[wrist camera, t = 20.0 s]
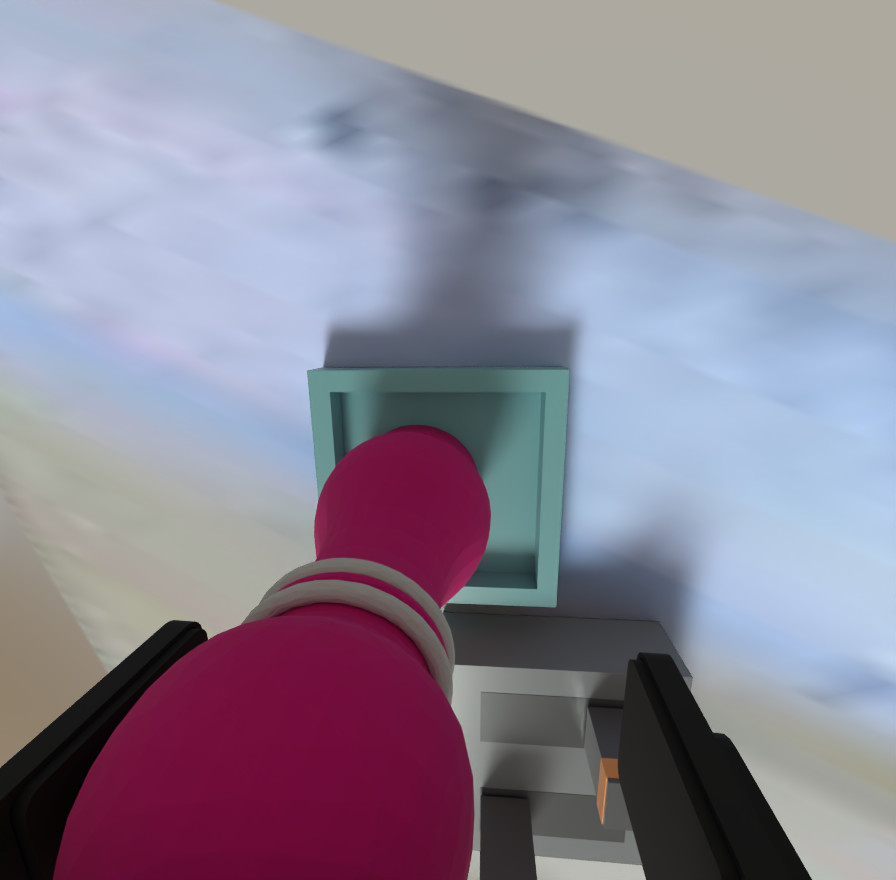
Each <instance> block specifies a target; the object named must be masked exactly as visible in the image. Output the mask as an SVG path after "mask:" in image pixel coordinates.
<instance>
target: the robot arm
mask: <svg viewBox="0 0 896 880" xmlns="http://www.w3.org/2000/svg"><path fill="white" fill-rule="evenodd" d="M207 640H208V638H207V633H206V631H205V630H203V629H202V627H201V625H200V624H199V623H198V622H192V621H178V620H173V621H169V622H168V623H166V624H165V625H164V626H162V627H161V628H160V629H159V630H158V631H157V632H156V633H154V634H153V635H152V636H151V637H150V638H149V639H148V640H146V641H145V642H144V643H143V644H142V645H141V646H140V647H138V648H137V649H136V650H135V651H134V652H133V653H132V654H130V655H129V656H128V657H127V658H126V659H125V660H123V661H122V662H121V663H120V664H119V665H118V666H117V667H115V668H114V669H113V670H112V671H111V672H110V673H109V674H107V675H106V676H105V677H104V678H103V679H102V680H101V681H100V682H98V683H97V684H96V685H95V686H94V687H93V688H92V689H90V690H89V691H88V692H87V693H86V694H85V695H83V696H82V697H81V698H80V699H79V700H78V701H76V702H75V703H74V704H73V705H72V706H71V707H70V708H68V709H67V710H66V711H65V712H64V713H63V714H62V715H60V716H59V717H58V718H57V719H56V720H55V721H53V722H52V723H51V724H50V725H49V726H48V727H47V728H45V729H44V730H43V731H42V732H41V733H40V734H39V735H38V736H36V737H35V738H34V739H33V740H32V741H31V742H29V743H28V744H27V745H26V746H25V747H24V748H23V749H21V750H20V751H19V752H18V753H17V754H16V755H14V756H13V757H12V758H11V759H10V760H9V761H8V762H7V763H5V764H4V765H3V766H2V767H1V768H0V880H53V876H54V871H55V866H56V861H57V857H58V853H59V849H60V845H61V841H62V837H63V833H64V829H65V825H66V821H67V818H68V816H69V813H70V811H71V809H72V807H73V805H74V802H75V800H76V798H77V796H78V794H79V792H80V789H81V787H82V785H83V783H84V781H85V778H86V776H87V774H88V772H89V770H90V768H91V767H92V765H93V763H94V762H95V760H96V759H97V757H98V755H99V754H100V752H101V751H102V749H103V747H104V746H105V744H106V743H107V741H108V739H109V738H110V736H111V735H112V733H113V731H114V730H115V729H116V727H117V726H118V725H119V724H120V722H121V721H122V720H123V719H124V717H125V716H126V715H127V714H128V712H129V711H130V710H131V709H132V707H133V706H134V705H135V704H136V702H137V701H138V700H139V699H140V697H141V696H142V695H143V694H144V692H145V691H146V690H147V689H148V688H149V687H150V686H151V685H152V684H153V683H154V682H155V681H156V680H157V679H158V678H160V677H161V676H162V675H163V674H164V673H165V672H166V671H167V670H168V669H169V668H170V667H171V666H172V665H173V664H175V663H176V662H177V661H178V660H179V659H180V658H182V657H183V656H185V655H186V654H187V653H189V652H190V651H191V650H193V649H194V648H196V647H197V646H199V645H200V644H202V643H204V642H205V641H207ZM618 775H619V781H620V785H621V789H622V793H623V796H624V800H625V804H626V807H627V811H628V815H629V818H630V822H631V826H632V829H633V833H634V837H635V840H636V844H637V848H638V851H639V855H640V859H641V862H642V866H643V870H644V873H645V877H646V880H812V879H811V877H810V875H809V874H808V872H807V870H806V868H805V867H804V865H803V863H802V861H801V860H800V858H799V856H798V854H797V853H796V851H795V849H794V848H793V846H792V844H791V842H790V841H789V839H788V837H787V835H786V834H785V832H784V830H783V828H782V827H781V825H780V823H779V822H778V820H777V818H776V816H775V815H774V813H773V811H772V809H771V808H770V806H769V804H768V802H767V801H766V799H765V797H764V796H763V794H762V792H761V790H760V789H759V787H758V785H757V783H756V782H755V780H754V778H753V777H752V775H751V773H750V771H749V770H748V768H747V766H746V764H745V763H744V761H743V759H742V757H741V756H740V754H739V752H738V751H737V749H736V747H735V746H734V744H733V743H732V741H731V740H730V739H729V738H728V737H727V736H726V735H725V734H721V733H713V732H712V730H711V728H710V727H709V725H708V723H707V721H706V719H705V717H704V716H703V714H702V712H701V710H700V708H699V706H698V704H697V703H696V701H695V699H694V697H693V695H692V693H691V692H690V690H689V688H688V686H687V684H686V682H685V680H684V679H683V677H682V675H681V673H680V671H679V669H678V667H677V666H676V664H675V662H674V660H673V659H672V657H671V656H670V655H669V654H660V653H646V652H640V653H639V654H638V655H637V660H635V659H630V660H629V662H628V668H627V677H626V687H625V696H624V706H623V715H622V725H621V734H620V744H619V753H618Z"/></svg>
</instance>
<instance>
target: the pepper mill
mask: <svg viewBox="0 0 896 880" xmlns="http://www.w3.org/2000/svg"><path fill="white" fill-rule="evenodd" d="M490 523H491V508H490V500H489V497H488V493H487V490H486V487H485V485H484V482H483V480H482V478H481V476H480V475H479V473H478V471H477V467H476V465H475V462H474V460H473V458H472V456H471V454H470V453H469V451H468V450H467V448H466V447H465V446H464V445H463V444H462V443H461V442H460V441H459V440H458V439H457V438H455V437H454V436H452V435H451V434H449V433H447V432H445V431H443V430H440V429H438V428H435V427H431V426H427V425H408V426H401V427H398V428H396V429H393V430H391V431H389V432H387V433H385V434H384V435H380V436H377V437H373V438H371V439H369V440H367V441H365V442H363V443H361V444H360V445H358V446H357V447H355V448H354V449H352V450H351V451H349V452H348V453H347V454H346V455H345V456H344V458H343V459H342V460H341V461H340V462H339V463H338V464H337V466H336V467H335V468H334V470H333V471H332V472H331V474H330V476H329V477H328V479H327V480H326V482H325V484H324V486H323V489H322V492H321V494H320V497H319V500H318V505H317V511H316V516H315V526H314V538H315V547H316V556H317V559H316V561H315V562H312V563H309V564H306V565H304V566H301V567H298V568H296V569H294V570H293V571H291V572H289V573H287V574H286V575H284V576H283V577H282V578H281V579H280V580H279V581H277V582H276V583H275V584H274V585H273V586H272V587H271V588H270V589H269V590H268V591H267V592H266V594H265V595H264V597H263V598H262V600H261V602H260V603H259V605H258V606H257V607H255V608H254V609H253V610H252V611H251V612H250V614H249V615H248V616H247V617H246V619H245V620H244V621H243V623H242V624H241V625H240V626H237V627H235V628H232V629H230V630H227V631H225V632H222V633H220V634H217V635H216V636H214V637H212V638H210V639H209V640H207V641H205V642H204V643H202V644H200V645H199V646H197V647H196V648H194V649H193V650H191V651H190V652H189V653H187V654H186V655H185V656H183V657H182V658H180V659H179V660H178V661H177V662H176V663H175V664H173V665H172V666H171V667H170V668H169V669H168V670H167V671H166V672H165V673H164V674H163V675H162V676H161V677H160V678H158V679H157V680H156V681H155V682H154V683H153V684H152V685H151V686H150V687H149V688H148V689H147V690H146V691H145V692H144V694H143V695H142V696H141V697H140V699H139V700H138V701H137V702H136V704H135V705H134V706H133V707H132V709H131V710H130V711H129V712H128V714H127V715H126V716H125V717H124V719H123V720H122V721H121V722H120V724H119V725H118V726H117V727H116V729H115V730H114V731H113V733H112V735H111V736H110V738H109V739H108V741H107V743H106V744H105V746H104V747H103V749H102V751H101V752H100V754H99V755H98V757H97V759H96V760H95V762H94V763H93V765H92V767H91V768H90V770H89V772H88V774H87V776H86V778H85V781H84V783H83V785H82V787H81V789H80V792H79V794H78V796H77V798H76V800H75V802H74V805H73V807H72V809H71V811H70V813H69V816H68V818H67V821H66V825H65V829H64V833H63V837H62V841H61V845H60V849H59V853H58V857H57V861H56V866H55V871H54V876H53V880H467V878H468V873H469V867H470V861H471V855H472V850H473V834H474V816H475V812H474V785H473V774H472V770H471V765H470V761H469V756H468V752H467V748H466V743H465V739H464V734H463V730H462V727H461V725H460V723H459V721H458V719H457V717H456V715H455V713H454V711H453V709H452V707H451V704H452V695H453V679H452V676H453V673H454V665H455V650H454V642H453V638H452V633H451V630H450V627H449V625H448V623H447V621H446V618H445V616H444V615H443V613H442V611H441V610H440V609H441V607H442V606H443V605H444V604H445V603H447V602H448V601H449V600H450V599H451V598H452V597H453V596H455V595H456V594H457V593H458V592H459V591H460V590H461V589H462V588H463V587H464V586H465V584H466V583H467V582H468V580H469V579H470V577H471V576H472V575H473V573H474V572H475V570H476V568H477V566H478V564H479V563H480V561H481V559H482V557H483V555H484V553H485V550H486V546H487V542H488V539H489V532H490Z"/></svg>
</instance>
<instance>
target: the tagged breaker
mask: <svg viewBox="0 0 896 880" xmlns="http://www.w3.org/2000/svg"><path fill="white" fill-rule="evenodd" d="M622 715H623V709H617V708H601V707H587V719H586V732H585V744H584V748H585V752H586V756H587V760H588V764H589V768H590V773H591V777H592V781H593V785H594V789H595V793H596V797H597V808H598V812H599V816H600V820H601V824H603V826H604V829H615V830H627V831H633V829H632V826H631V822H630V818H629V815H628V811H627V807H626V804H625V800H624V796H623V793H622V789H621V785H620V781H619V775H618V753H619V744H620V734H621V725H622Z"/></svg>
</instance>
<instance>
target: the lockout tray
mask: <svg viewBox="0 0 896 880" xmlns="http://www.w3.org/2000/svg"><path fill="white" fill-rule="evenodd" d="M569 373H570V370H569V369H567V368H564V367H562V366H547V367H333V368H318V369H313V370H308V371H307V374H308V386H309V397H310V408H311V420H312V431H313V443H314V454H315V465H316V477H317V488H318V500H319V497H320V494H321V492H322V489H323V486H324V484H325V482H326V480H327V479H328V477H329V476H330V474H331V472H332V471H333V470H334V468H335V467H336V466H337V464H338V463H339V462H340V461H341V460H342V459H343V458H344V456H345V455H346V454H347V453H348V452H349V451H351V450H352V449H354V448H355V447H357V446H358V445H360V444H361V443H363V442H365V441H367V440H369V439H371V438H373V437H377V436H380V435H384V434H385V433H387V432H389V431H391V430H393V429H396V428H398V427H401V426H408V425H427V426H431V427H435V428H438V429H440V430H443V431H445V432H447V433H449V434H451V435H452V436H454V437H455V438H457V439H458V440H459V441H460V442H461V443H462V444H463V445H464V446H465V447H466V448H467V450H468V451H469V453H470V454H471V456H472V458H473V460H474V462H475V465H476V467H477V471H478V473H479V475H480V476H481V478H482V480H483V482H484V485H485V487H486V490H487V493H488V497H489V500H490V508H491V523H490V532H489V539H488V542H487V546H486V550H485V553H484V555H483V557H482V559H481V561H480V563H479V564H478V566H477V568H476V570H475V572H474V573H473V575H472V576H471V577H470V579H469V580H468V582H467V583H466V584H465V586H464V587H463V588H462V589H461V590H460V591H459V592H458V593H457V594H456V595H455V596H453V597H452V598H451V599H450V600H449V601H448V602H447V603H458V604H483V605H507V606H532V607H556V604H557V586H558V568H559V551H560V533H561V515H562V497H563V480H564V462H565V444H566V427H567V409H568V391H569Z"/></svg>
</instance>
